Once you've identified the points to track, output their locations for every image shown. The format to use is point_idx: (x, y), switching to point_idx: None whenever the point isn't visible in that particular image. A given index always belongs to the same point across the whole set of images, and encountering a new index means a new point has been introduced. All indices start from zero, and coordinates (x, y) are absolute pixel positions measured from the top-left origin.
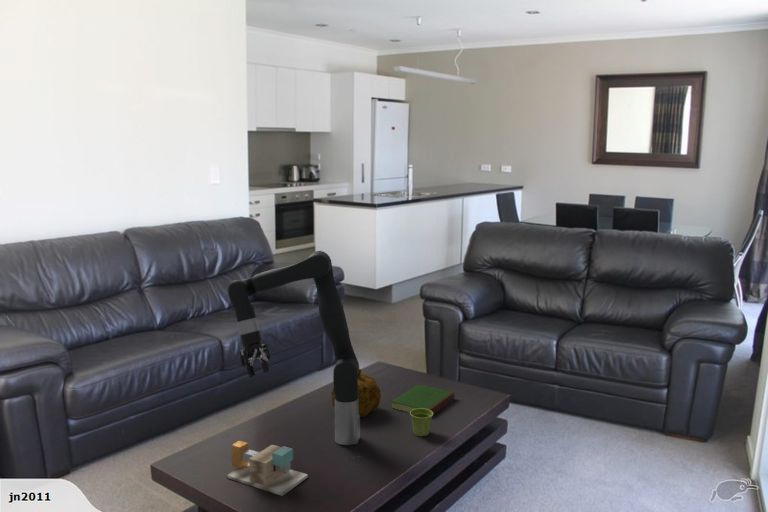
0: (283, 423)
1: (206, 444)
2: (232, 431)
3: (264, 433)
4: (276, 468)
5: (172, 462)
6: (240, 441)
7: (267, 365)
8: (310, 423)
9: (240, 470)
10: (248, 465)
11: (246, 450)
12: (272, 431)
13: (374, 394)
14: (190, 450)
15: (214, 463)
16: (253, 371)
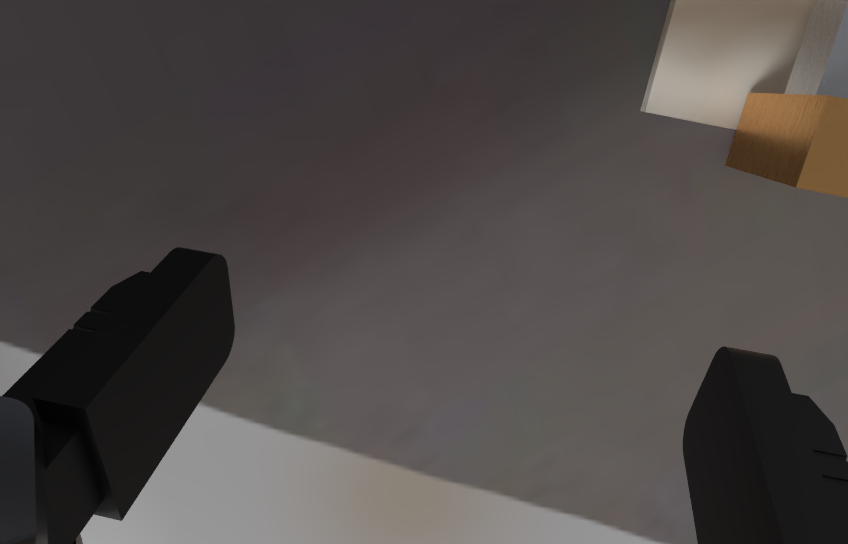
0: (95, 189)
1: (519, 472)
2: (322, 424)
3: (274, 235)
4: None
5: None
6: (812, 168)
7: (117, 328)
8: (9, 5)
9: None
10: (745, 93)
11: (844, 86)
12: (229, 200)
13: None
14: (608, 511)
15: (722, 317)
16: (785, 427)
